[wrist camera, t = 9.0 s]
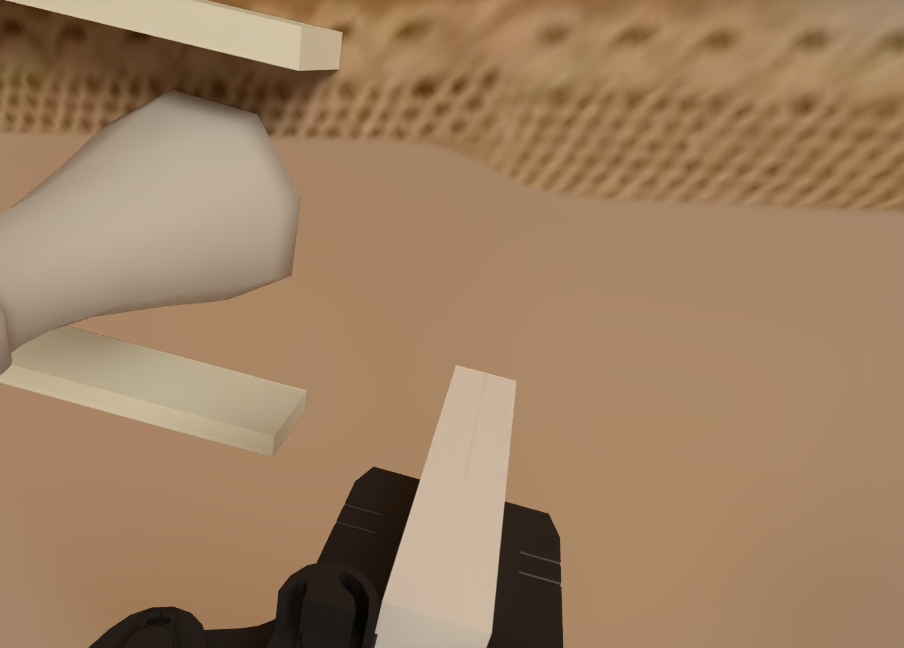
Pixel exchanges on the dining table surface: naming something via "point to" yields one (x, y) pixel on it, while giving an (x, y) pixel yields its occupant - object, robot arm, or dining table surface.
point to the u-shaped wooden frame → (148, 370)
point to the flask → (148, 220)
